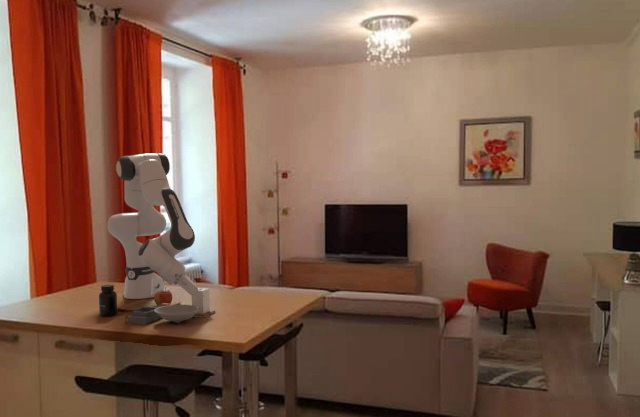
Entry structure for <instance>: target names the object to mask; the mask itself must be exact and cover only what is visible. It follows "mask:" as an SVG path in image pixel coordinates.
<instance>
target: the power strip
mask: <svg viewBox="0 0 640 417" xmlns="http://www.w3.org/2000/svg"><path fill="white" fill-rule="evenodd" d="M168 305H171V304H170V303H162V304H161V305H159V304H158V305H156V304H155V305H154V306H142V307H138V308H137V309H134V310H131V315H128V316H127V324H131V325H134V324H135V325H148V324H150V323H152V322H154V321H157V320H160V319H163V318H162V317H160V316H159V315H158V314H157V313H155V312H154V310H155V309H156V308H159V307H162V306H168Z"/></svg>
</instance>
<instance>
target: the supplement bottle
mask: <svg viewBox="0 0 640 417" xmlns="http://www.w3.org/2000/svg"><path fill="white" fill-rule="evenodd" d="M100 289H101V290H100V293H98V309H99V316H100V317H101V318H102V317H103V318H108V317H114V316H117V314H118V295H117V294H118V293H117V292H116V291H114V290H115V285H114V284H101V286H100Z"/></svg>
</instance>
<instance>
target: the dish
mask: <svg viewBox="0 0 640 417" xmlns="http://www.w3.org/2000/svg"><path fill="white" fill-rule="evenodd" d="M199 310H200V308H199V307H197V306H193V305H192V304H170V305H168V306H162V307H159V308H156V309H155V310H154V312H155V313H157V314H158V315H159V316H160V317H162V318H161V319H163V320H165V321H169V322H174V323H176V324H178V323H181V322H183V321H187V320H189V319H191V318H193V317H192V316H194V315H195V314H196V312H197V311H199Z"/></svg>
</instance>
